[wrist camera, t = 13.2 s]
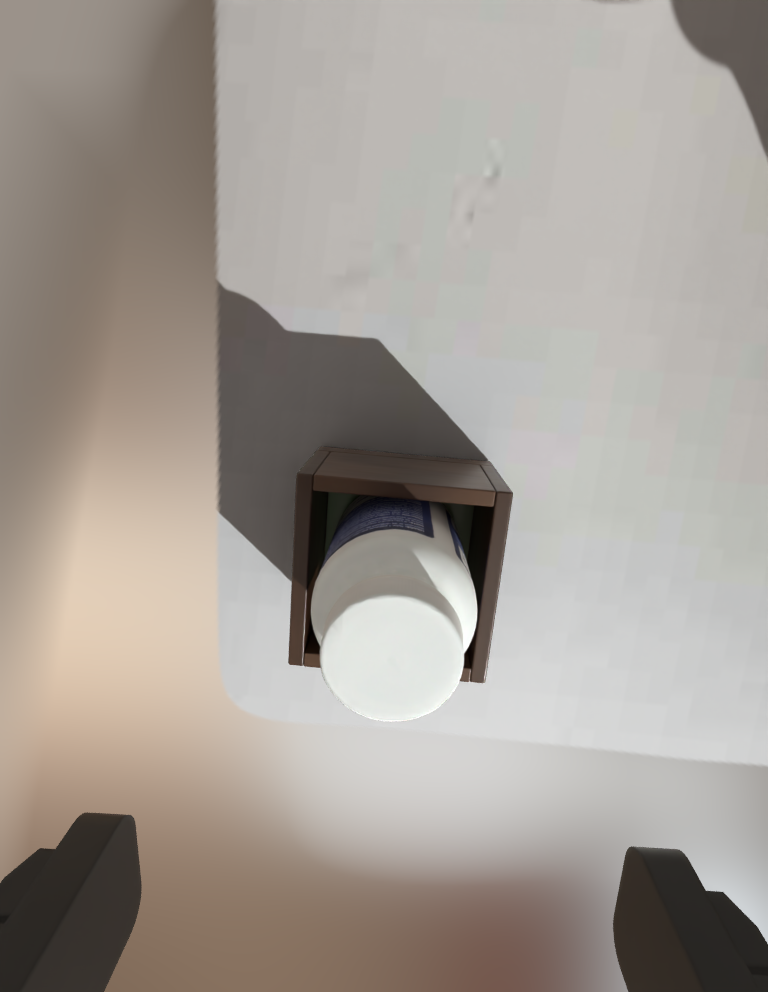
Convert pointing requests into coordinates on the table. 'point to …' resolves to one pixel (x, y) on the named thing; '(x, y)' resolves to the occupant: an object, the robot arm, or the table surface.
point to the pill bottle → (394, 608)
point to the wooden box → (350, 473)
